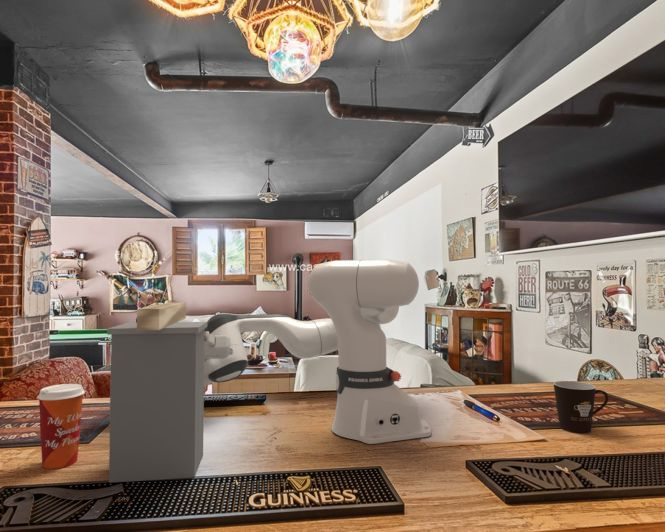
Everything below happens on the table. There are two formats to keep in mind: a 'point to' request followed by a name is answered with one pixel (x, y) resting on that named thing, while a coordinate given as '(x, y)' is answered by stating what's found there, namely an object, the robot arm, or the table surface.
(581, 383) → the coffee mug
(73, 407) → the paper cup
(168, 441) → the tall grey block
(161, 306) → the tan wooden bar
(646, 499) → the table surface
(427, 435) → the robot arm
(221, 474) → the table surface
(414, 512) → the table surface
